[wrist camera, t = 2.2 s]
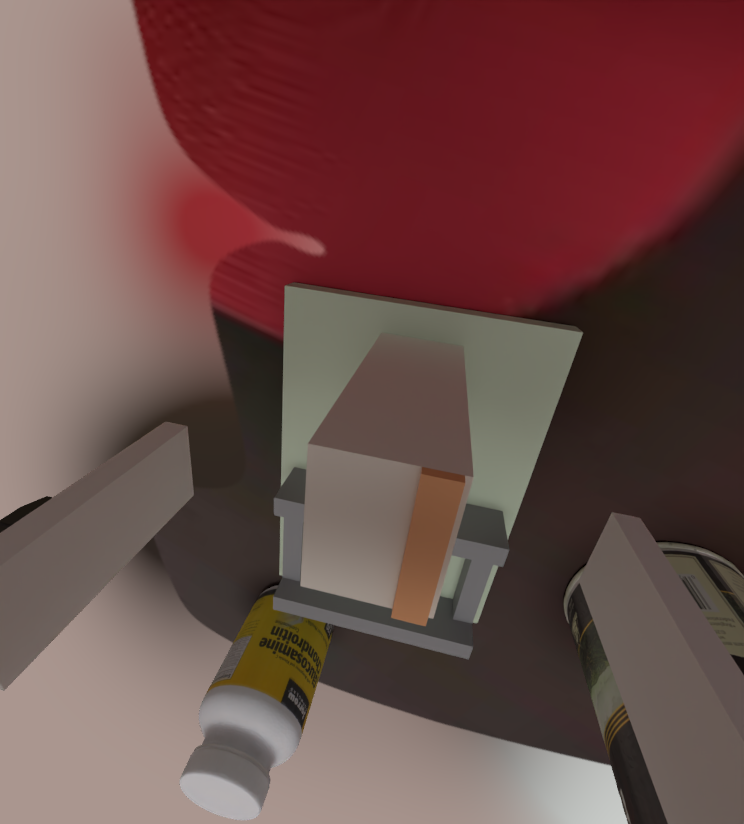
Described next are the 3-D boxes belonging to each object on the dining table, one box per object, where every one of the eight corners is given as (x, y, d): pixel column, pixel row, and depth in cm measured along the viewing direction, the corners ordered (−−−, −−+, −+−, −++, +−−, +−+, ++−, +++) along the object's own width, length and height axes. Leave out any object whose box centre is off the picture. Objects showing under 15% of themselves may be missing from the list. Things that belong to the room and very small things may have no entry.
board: (293, 282, 20) (257, 295, 17) (575, 326, 19) (606, 352, 15) (285, 562, 29) (261, 611, 26) (476, 607, 28) (479, 667, 24)
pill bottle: (350, 631, 31) (299, 831, 21) (284, 642, 34) (209, 828, 23) (310, 572, 29) (232, 762, 19) (243, 588, 32) (140, 766, 21)
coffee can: (629, 676, 28) (773, 1047, 15) (528, 592, 26) (596, 928, 14) (790, 616, 23) (1180, 1070, 11) (680, 509, 22) (987, 898, 9)
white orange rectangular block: (381, 332, 19) (303, 449, 9) (463, 346, 19) (474, 485, 9) (369, 422, 22) (296, 594, 12) (442, 436, 21) (432, 628, 11)
